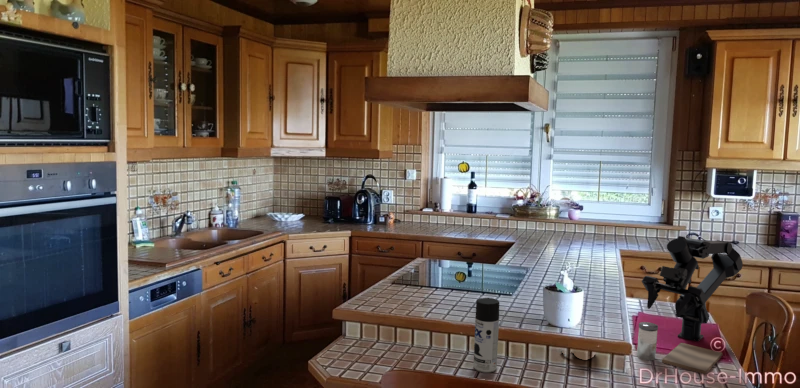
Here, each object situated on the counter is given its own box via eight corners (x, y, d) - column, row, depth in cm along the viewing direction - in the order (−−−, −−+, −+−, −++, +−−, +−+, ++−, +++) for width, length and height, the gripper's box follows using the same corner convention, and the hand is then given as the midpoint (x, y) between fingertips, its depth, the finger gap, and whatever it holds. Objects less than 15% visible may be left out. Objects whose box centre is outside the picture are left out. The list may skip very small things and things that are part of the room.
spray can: (469, 365, 176) (471, 298, 173) (489, 361, 179) (491, 296, 176) (480, 374, 170) (483, 305, 167) (501, 371, 173) (504, 303, 170)
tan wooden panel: (680, 345, 194) (681, 342, 194) (722, 356, 187) (722, 352, 186) (661, 362, 181) (662, 359, 181) (705, 374, 173) (705, 371, 173)
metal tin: (640, 351, 189) (642, 320, 187) (658, 356, 185) (660, 325, 184) (633, 356, 185) (636, 325, 183) (652, 361, 181) (654, 329, 180)
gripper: (646, 251, 196) (625, 290, 191) (705, 263, 182) (684, 305, 176) (657, 271, 202) (637, 309, 197) (715, 284, 188) (695, 326, 182)
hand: (662, 312), depth 188 cm, fingers open, 9 cm apart
